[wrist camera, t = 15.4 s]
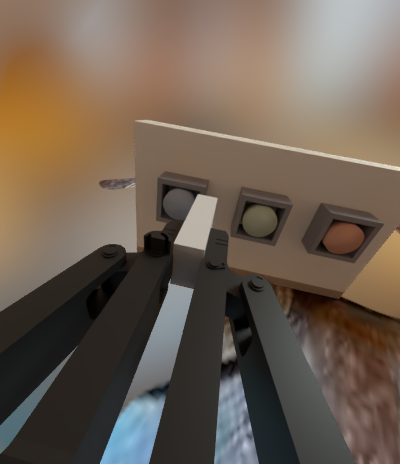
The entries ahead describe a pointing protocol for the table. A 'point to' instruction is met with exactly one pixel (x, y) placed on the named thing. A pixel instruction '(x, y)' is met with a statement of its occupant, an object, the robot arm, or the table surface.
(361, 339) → the table surface
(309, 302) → the table surface
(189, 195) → the slate button
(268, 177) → the button panel
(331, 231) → the terracotta button
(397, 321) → the table surface
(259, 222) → the sage button
